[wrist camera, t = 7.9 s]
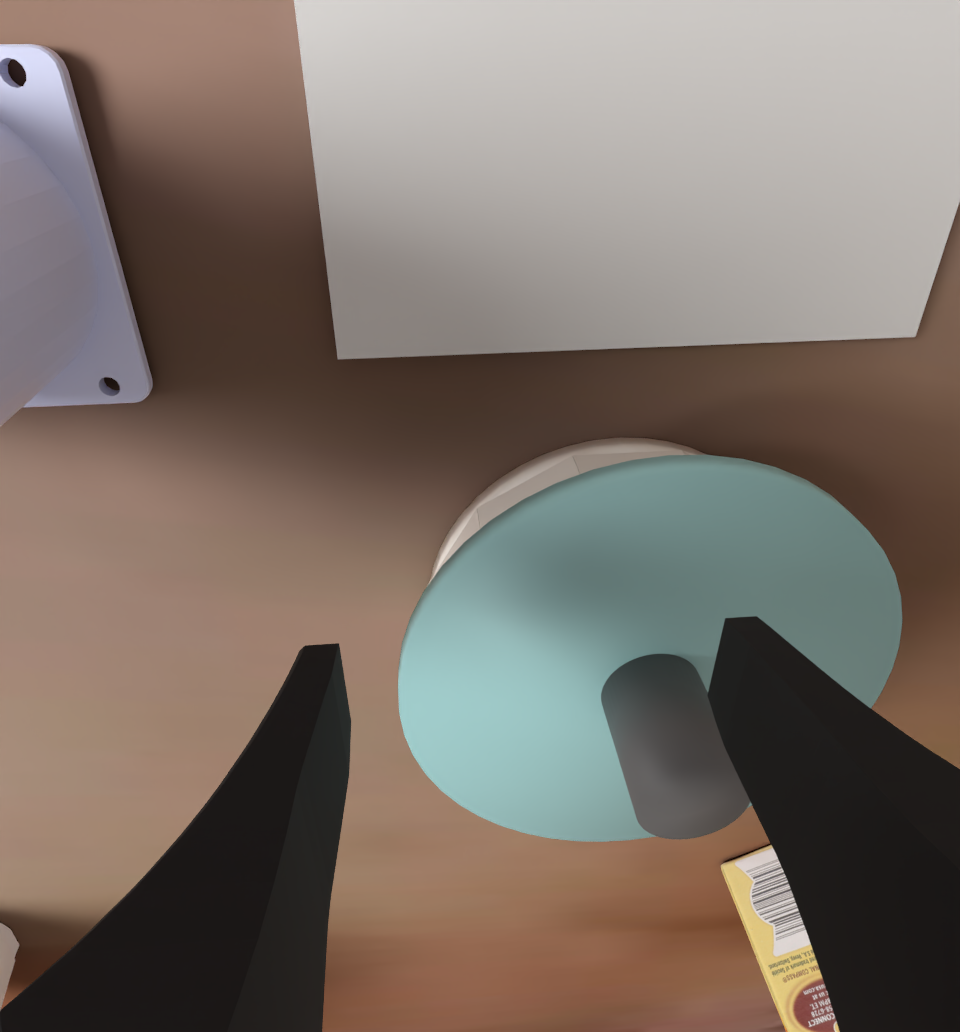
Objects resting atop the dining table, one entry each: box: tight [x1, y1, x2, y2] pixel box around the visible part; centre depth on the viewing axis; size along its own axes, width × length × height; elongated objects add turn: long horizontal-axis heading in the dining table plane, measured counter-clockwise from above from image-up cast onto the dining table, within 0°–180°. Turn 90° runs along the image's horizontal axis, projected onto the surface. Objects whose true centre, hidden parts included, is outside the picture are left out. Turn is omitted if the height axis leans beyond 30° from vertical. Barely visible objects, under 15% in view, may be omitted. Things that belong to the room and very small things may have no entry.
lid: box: [398, 455, 902, 842], centre depth 19 cm, size 14×14×4 cm
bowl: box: [427, 437, 707, 586], centre depth 23 cm, size 12×12×4 cm
